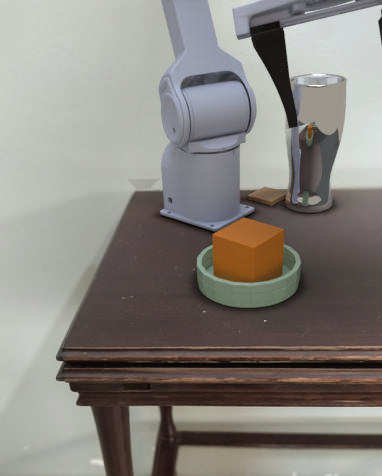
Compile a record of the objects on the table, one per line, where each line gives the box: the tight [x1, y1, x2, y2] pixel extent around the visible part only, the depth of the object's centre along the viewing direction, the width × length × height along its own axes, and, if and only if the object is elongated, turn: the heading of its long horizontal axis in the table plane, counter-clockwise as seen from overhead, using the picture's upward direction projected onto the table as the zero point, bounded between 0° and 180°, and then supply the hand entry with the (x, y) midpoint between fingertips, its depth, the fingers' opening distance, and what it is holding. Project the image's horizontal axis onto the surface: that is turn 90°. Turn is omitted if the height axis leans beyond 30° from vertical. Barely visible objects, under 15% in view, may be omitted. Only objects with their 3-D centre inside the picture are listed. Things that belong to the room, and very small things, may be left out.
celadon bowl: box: [196, 243, 302, 309], centre depth 58 cm, size 10×10×2 cm
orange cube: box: [211, 217, 286, 283], centre depth 57 cm, size 5×5×5 cm
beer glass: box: [284, 73, 348, 214], centre depth 70 cm, size 7×7×15 cm
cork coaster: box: [246, 186, 287, 207], centre depth 76 cm, size 4×4×1 cm
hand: (342, 117), depth 45 cm, fingers open, 7 cm apart
